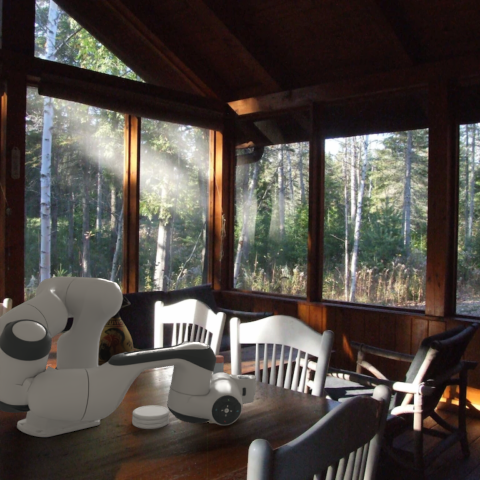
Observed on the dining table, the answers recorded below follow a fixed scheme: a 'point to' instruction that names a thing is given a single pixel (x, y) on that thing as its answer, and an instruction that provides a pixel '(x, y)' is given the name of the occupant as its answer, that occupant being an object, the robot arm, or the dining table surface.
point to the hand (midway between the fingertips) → (217, 376)
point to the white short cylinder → (150, 417)
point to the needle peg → (219, 364)
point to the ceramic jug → (114, 337)
